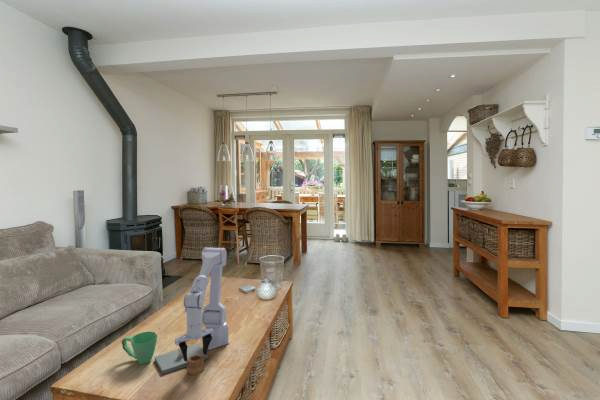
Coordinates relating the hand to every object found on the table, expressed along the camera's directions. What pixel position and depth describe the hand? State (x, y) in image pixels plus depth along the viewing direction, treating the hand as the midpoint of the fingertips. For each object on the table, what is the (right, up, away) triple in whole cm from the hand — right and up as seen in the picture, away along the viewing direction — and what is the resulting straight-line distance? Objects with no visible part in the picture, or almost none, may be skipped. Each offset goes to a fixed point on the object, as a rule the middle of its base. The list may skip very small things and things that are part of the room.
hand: (195, 356), depth 126 cm
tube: (0, -6, 0) cm, 6 cm away
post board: (-8, -5, +8) cm, 13 cm away
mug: (-25, -5, +7) cm, 27 cm away
